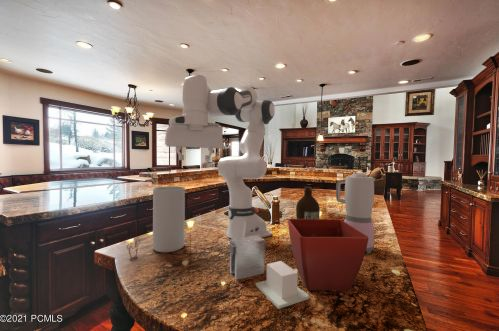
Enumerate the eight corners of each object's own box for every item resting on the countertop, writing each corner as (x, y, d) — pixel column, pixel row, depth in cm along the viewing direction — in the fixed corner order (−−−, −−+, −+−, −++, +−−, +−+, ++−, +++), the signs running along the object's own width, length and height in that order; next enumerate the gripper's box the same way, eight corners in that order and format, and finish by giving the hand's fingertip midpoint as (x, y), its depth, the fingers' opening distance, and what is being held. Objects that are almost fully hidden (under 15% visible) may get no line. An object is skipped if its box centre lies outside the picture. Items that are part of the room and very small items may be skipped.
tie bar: (262, 246, 80) (262, 239, 80) (265, 248, 78) (265, 241, 78) (229, 252, 75) (229, 244, 75) (232, 254, 73) (232, 247, 73)
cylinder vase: (174, 254, 91) (175, 190, 90) (146, 251, 93) (146, 189, 93) (189, 243, 103) (189, 187, 102) (163, 241, 106) (164, 186, 105)
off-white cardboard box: (280, 280, 71) (280, 260, 71) (297, 294, 64) (297, 272, 63) (266, 284, 68) (266, 264, 68) (281, 298, 61) (282, 276, 61)
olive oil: (291, 237, 113) (292, 186, 112) (312, 236, 115) (313, 185, 114) (301, 245, 102) (302, 188, 102) (323, 243, 105) (324, 188, 104)
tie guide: (256, 266, 81) (257, 235, 81) (264, 273, 77) (264, 239, 76) (229, 272, 77) (230, 239, 77) (236, 280, 72) (236, 244, 72)
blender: (376, 247, 101) (378, 173, 101) (372, 256, 91) (374, 175, 91) (338, 239, 110) (340, 172, 110) (331, 247, 101) (332, 173, 100)
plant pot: (368, 298, 64) (370, 236, 63) (299, 298, 63) (300, 236, 63) (339, 266, 83) (340, 219, 82) (286, 266, 82) (287, 218, 82)
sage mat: (283, 278, 74) (283, 275, 74) (309, 298, 63) (309, 295, 63) (255, 285, 69) (255, 282, 69) (278, 309, 58) (278, 305, 58)
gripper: (219, 124, 91) (219, 160, 91) (164, 120, 81) (164, 159, 82) (225, 122, 85) (225, 160, 85) (166, 117, 76) (166, 160, 76)
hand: (194, 160), depth 84 cm, fingers open, 8 cm apart
